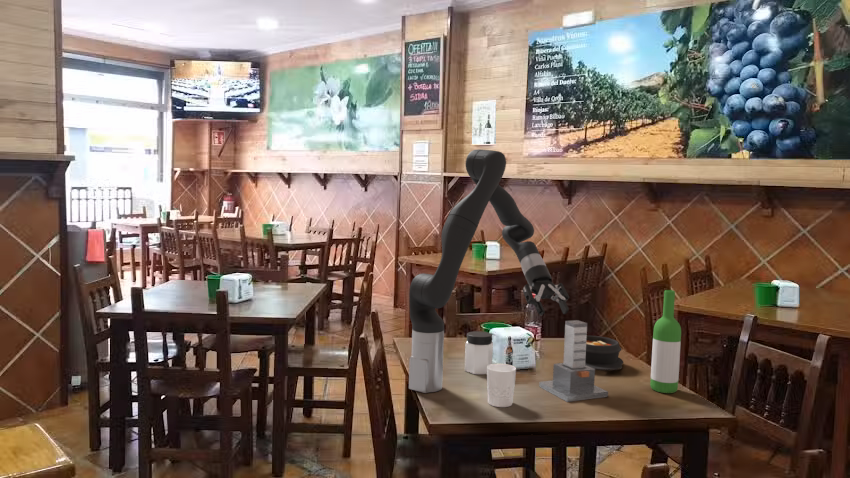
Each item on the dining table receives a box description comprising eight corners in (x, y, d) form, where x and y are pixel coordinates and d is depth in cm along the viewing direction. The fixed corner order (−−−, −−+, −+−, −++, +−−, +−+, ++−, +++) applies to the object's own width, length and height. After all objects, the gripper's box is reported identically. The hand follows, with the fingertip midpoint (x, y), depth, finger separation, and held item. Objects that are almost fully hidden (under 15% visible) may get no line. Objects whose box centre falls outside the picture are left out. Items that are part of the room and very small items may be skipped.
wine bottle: (679, 389, 190) (685, 290, 188) (675, 396, 184) (681, 293, 181) (652, 384, 194) (658, 287, 192) (647, 391, 188) (653, 290, 185)
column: (585, 388, 184) (588, 323, 182) (571, 389, 182) (574, 324, 180) (574, 383, 188) (578, 320, 187) (561, 384, 186) (564, 320, 185)
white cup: (495, 396, 179) (497, 361, 178) (520, 403, 174) (521, 367, 173) (480, 403, 173) (481, 367, 172) (504, 410, 168) (506, 373, 167)
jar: (486, 376, 198) (487, 338, 197) (461, 372, 201) (462, 335, 200) (494, 369, 206) (496, 332, 205) (470, 365, 209) (472, 329, 208)
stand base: (607, 396, 181) (609, 371, 181) (567, 401, 176) (568, 375, 175) (578, 382, 194) (579, 358, 194) (539, 386, 189) (540, 362, 188)
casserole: (635, 376, 203) (636, 350, 202) (578, 375, 202) (579, 349, 201) (608, 355, 228) (610, 332, 227) (557, 354, 227) (558, 331, 226)
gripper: (521, 264, 197) (540, 307, 188) (559, 263, 203) (579, 305, 193) (511, 278, 203) (529, 321, 193) (549, 277, 208) (568, 318, 199)
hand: (554, 313), depth 193 cm, fingers open, 8 cm apart
